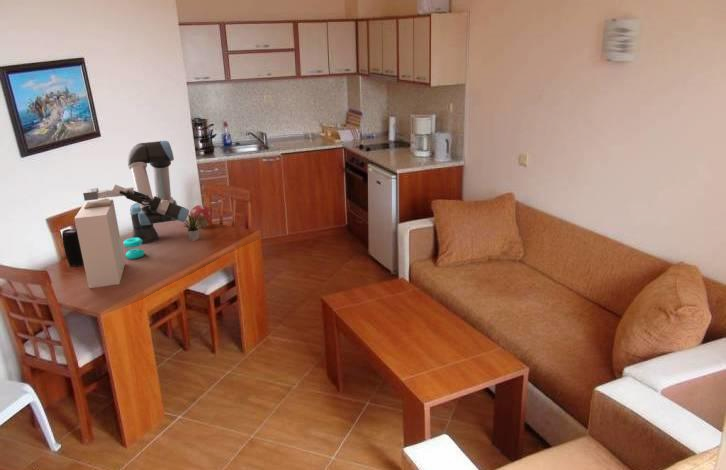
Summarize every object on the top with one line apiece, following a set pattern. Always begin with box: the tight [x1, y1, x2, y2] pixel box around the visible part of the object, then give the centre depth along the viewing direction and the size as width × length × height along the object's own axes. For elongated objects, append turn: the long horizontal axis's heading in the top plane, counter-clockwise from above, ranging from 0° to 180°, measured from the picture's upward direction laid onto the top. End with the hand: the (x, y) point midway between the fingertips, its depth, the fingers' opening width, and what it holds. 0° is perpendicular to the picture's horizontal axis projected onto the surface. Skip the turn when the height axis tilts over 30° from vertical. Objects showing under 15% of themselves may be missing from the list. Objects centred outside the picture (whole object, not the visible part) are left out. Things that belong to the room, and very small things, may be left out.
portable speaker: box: [62, 228, 84, 267], centre depth 306 cm, size 9×9×20 cm
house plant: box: [183, 212, 202, 241], centre depth 341 cm, size 14×14×16 cm
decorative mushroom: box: [189, 204, 212, 228], centre depth 363 cm, size 13×13×15 cm
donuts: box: [122, 237, 145, 260], centre depth 316 cm, size 10×10×10 cm
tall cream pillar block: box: [74, 199, 126, 289], centre depth 286 cm, size 14×30×37 cm, turn 17°
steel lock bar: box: [82, 187, 135, 202], centre depth 287 cm, size 23×8×4 cm, turn 107°
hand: (113, 187), depth 287 cm, fingers closed on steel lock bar, 4 cm apart
